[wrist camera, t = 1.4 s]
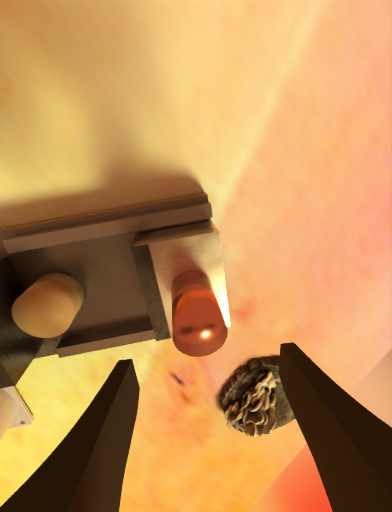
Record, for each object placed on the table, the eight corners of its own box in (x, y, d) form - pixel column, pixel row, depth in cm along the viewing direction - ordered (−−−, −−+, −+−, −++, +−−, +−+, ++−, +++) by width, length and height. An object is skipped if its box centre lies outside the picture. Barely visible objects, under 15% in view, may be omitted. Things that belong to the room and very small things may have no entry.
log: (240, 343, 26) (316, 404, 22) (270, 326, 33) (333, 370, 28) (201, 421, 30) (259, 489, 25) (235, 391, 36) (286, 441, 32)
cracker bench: (19, 353, 23) (-29, 416, 18) (-47, 236, 19) (-141, 270, 13) (221, 313, 24) (238, 361, 18) (205, 192, 20) (220, 206, 14)
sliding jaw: (157, 317, 22) (152, 398, 14) (135, 234, 19) (115, 282, 11) (222, 305, 22) (250, 378, 15) (211, 220, 19) (239, 259, 12)
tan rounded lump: (44, 318, 21) (25, 342, 18) (25, 277, 19) (1, 297, 17) (90, 309, 21) (79, 332, 18) (75, 268, 20) (59, 286, 17)
